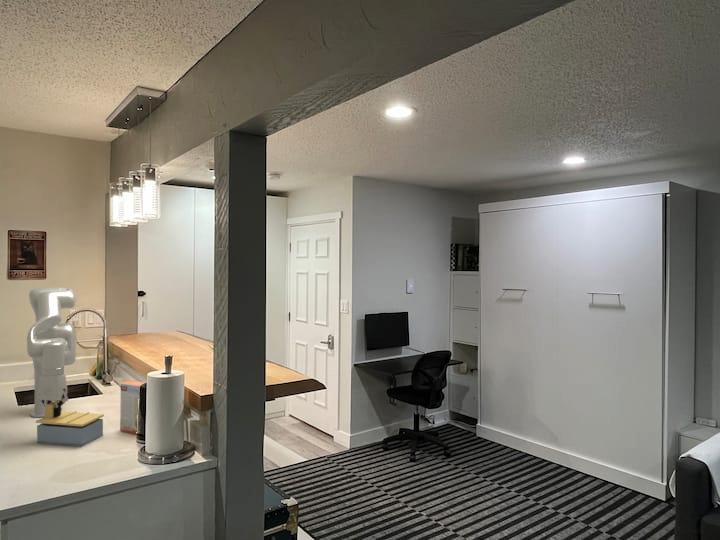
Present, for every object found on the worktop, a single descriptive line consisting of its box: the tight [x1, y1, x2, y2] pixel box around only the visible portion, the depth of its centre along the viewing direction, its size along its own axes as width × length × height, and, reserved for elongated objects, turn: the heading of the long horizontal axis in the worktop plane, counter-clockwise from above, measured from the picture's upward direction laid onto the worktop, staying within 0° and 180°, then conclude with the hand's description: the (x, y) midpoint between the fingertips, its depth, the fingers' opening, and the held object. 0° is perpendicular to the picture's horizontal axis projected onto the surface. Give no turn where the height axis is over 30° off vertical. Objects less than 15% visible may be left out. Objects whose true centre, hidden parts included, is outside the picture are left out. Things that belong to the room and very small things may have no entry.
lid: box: [35, 401, 105, 427], centre depth 197 cm, size 21×13×6 cm, turn 82°
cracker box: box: [119, 380, 145, 435], centre depth 206 cm, size 14×6×21 cm, turn 65°
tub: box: [36, 418, 104, 447], centre depth 197 cm, size 20×12×7 cm, turn 82°
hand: (53, 415), depth 198 cm, fingers closed on lid, 3 cm apart
